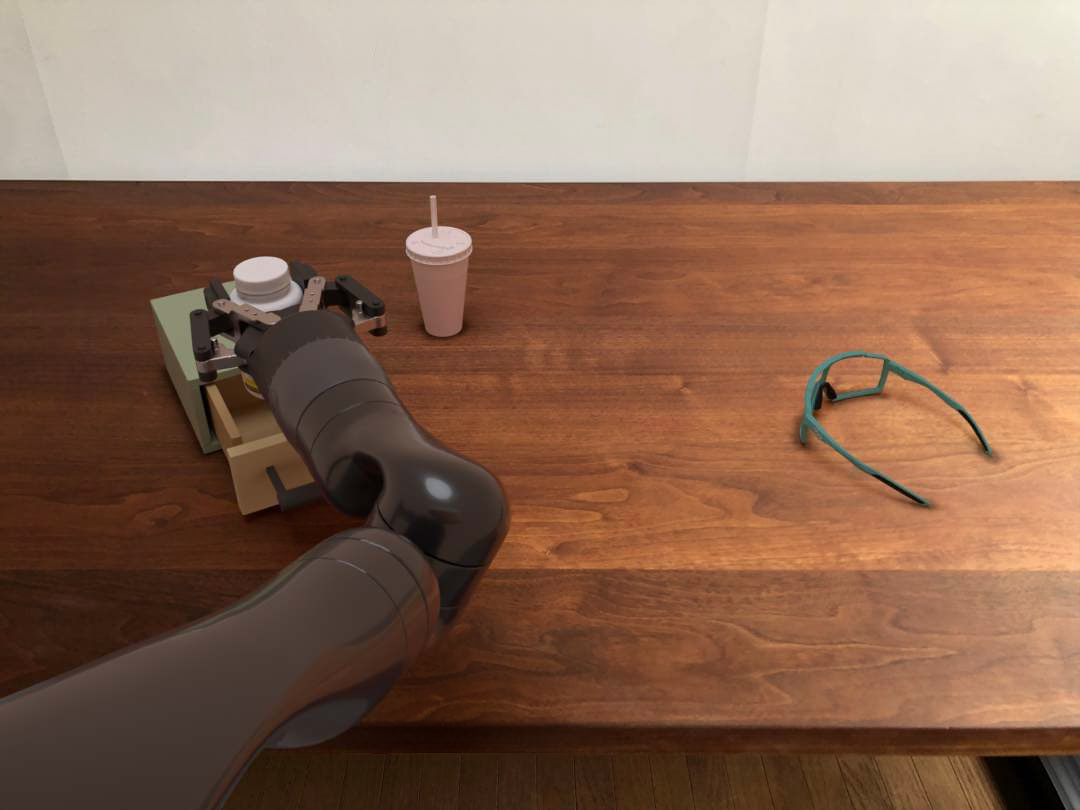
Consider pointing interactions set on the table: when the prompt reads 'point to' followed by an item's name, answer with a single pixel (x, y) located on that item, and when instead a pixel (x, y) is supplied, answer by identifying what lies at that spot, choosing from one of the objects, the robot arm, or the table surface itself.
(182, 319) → the cabinet
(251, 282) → the supplement bottle
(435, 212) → the smoothie
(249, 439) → the drawer
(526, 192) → the table surface
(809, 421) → the sunglasses
